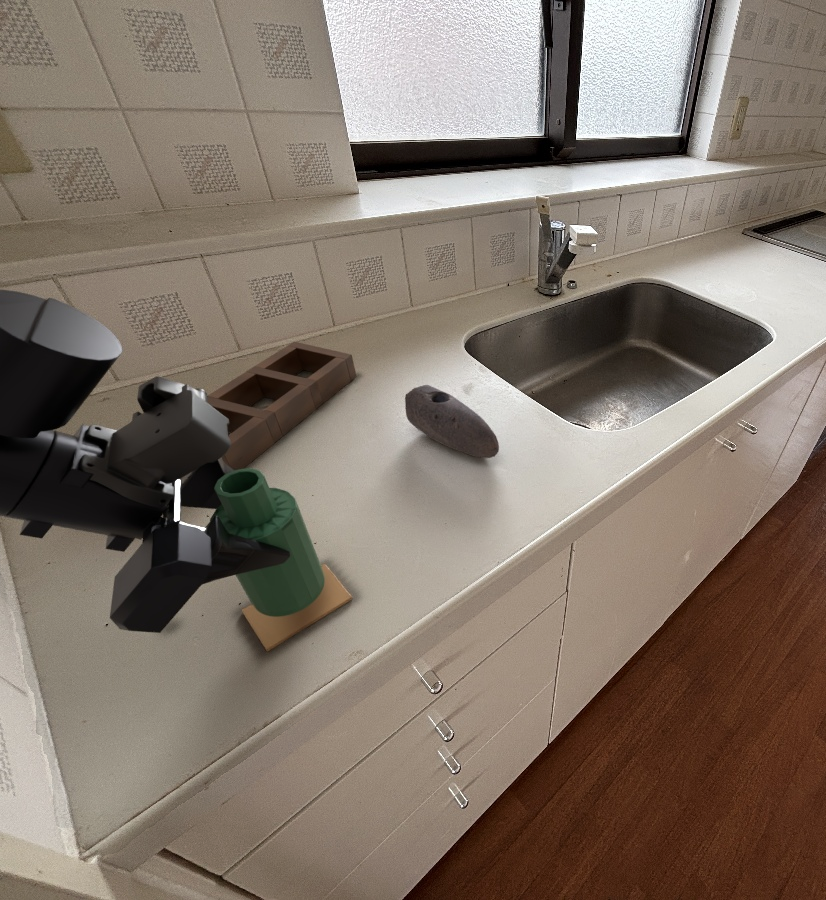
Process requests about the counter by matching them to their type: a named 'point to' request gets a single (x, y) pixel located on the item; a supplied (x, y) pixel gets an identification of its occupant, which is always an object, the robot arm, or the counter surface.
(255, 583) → the bottle
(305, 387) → the brown compartment tray
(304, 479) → the counter surface
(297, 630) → the cork trivet
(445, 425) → the perforated stone tool
